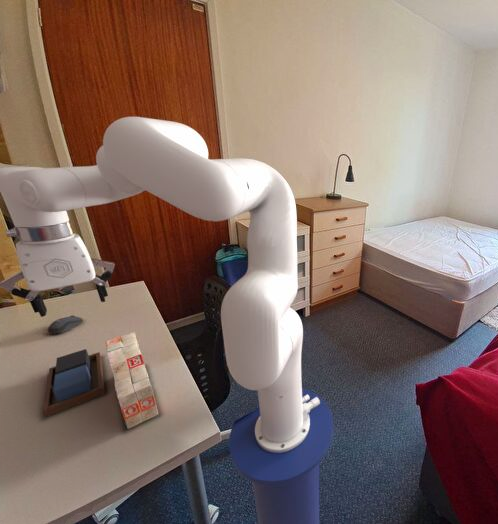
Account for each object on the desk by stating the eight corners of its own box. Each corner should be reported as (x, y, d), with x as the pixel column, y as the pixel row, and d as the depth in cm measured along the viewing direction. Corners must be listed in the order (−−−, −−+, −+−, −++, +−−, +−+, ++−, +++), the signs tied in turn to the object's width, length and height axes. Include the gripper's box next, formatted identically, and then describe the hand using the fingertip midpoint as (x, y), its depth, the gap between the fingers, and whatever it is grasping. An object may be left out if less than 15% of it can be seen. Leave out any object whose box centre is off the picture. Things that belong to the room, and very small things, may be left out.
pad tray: (101, 357, 84) (99, 351, 84) (105, 393, 72) (102, 387, 72) (51, 374, 78) (49, 368, 77) (46, 416, 66) (43, 410, 65)
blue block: (91, 377, 76) (86, 364, 75) (92, 393, 72) (86, 379, 70) (61, 388, 73) (54, 374, 71) (59, 405, 68) (52, 391, 66)
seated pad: (90, 361, 82) (86, 348, 80) (91, 374, 77) (86, 362, 75) (62, 370, 78) (56, 357, 77) (61, 385, 73) (55, 372, 72)
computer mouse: (86, 321, 101) (83, 311, 100) (59, 336, 93) (55, 326, 91) (72, 319, 102) (68, 310, 100) (44, 335, 93) (39, 325, 92)
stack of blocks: (160, 414, 67) (148, 374, 63) (127, 430, 63) (112, 389, 59) (144, 366, 82) (134, 330, 77) (117, 376, 78) (104, 339, 73)
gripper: (-27, 244, 48) (14, 328, 54) (104, 229, 59) (125, 301, 65) (-17, 234, 53) (19, 312, 59) (102, 222, 64) (122, 289, 70)
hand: (75, 306), depth 62 cm, fingers open, 9 cm apart
